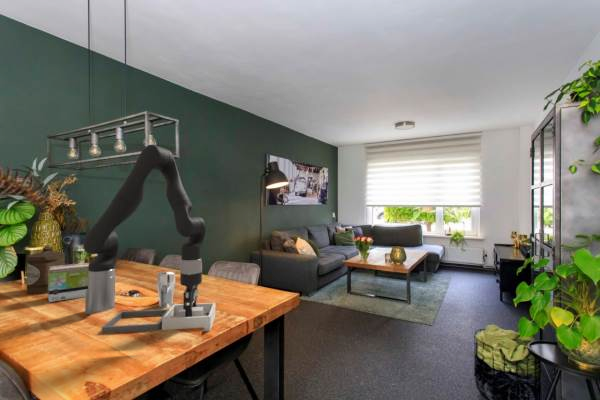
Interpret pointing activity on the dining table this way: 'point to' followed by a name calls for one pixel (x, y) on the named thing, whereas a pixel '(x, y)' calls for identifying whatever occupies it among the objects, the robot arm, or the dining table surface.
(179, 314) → the light grey cube block
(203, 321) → the bin
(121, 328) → the tray
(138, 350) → the dining table surface
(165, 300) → the silver metal goblet
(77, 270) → the tea box
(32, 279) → the wooden container
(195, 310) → the off-white cube
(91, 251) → the robot arm
